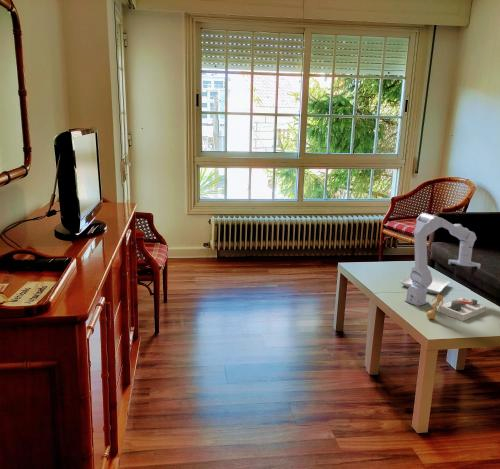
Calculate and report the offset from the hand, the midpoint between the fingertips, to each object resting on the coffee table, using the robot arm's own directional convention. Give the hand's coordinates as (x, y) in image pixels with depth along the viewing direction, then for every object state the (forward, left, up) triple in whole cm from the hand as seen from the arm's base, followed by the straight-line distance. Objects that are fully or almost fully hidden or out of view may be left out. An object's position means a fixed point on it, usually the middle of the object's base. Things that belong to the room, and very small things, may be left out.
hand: (462, 279), depth 229 cm
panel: (-16, -10, -10) cm, 21 cm away
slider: (-10, -12, -7) cm, 17 cm away
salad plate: (-1, +19, -11) cm, 22 cm away
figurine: (-36, -8, -10) cm, 38 cm away
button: (-22, -10, -7) cm, 25 cm away
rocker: (-16, -10, -5) cm, 20 cm away
